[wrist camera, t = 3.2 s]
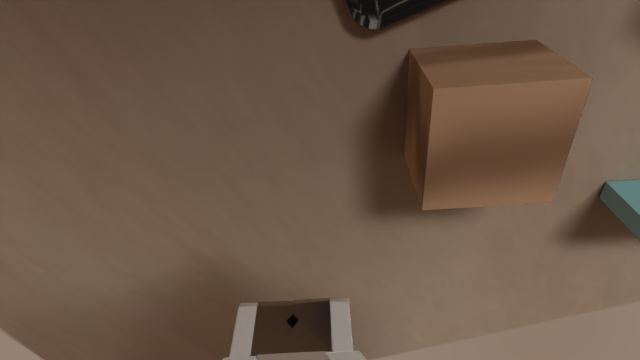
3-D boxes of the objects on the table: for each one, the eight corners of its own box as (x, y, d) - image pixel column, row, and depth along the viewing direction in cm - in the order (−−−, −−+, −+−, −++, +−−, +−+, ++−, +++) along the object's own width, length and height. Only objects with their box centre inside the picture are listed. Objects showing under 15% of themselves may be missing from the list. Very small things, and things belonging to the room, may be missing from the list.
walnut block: (409, 48, 20) (433, 89, 16) (535, 39, 20) (593, 77, 16) (403, 154, 23) (422, 210, 19) (510, 147, 23) (552, 202, 19)
